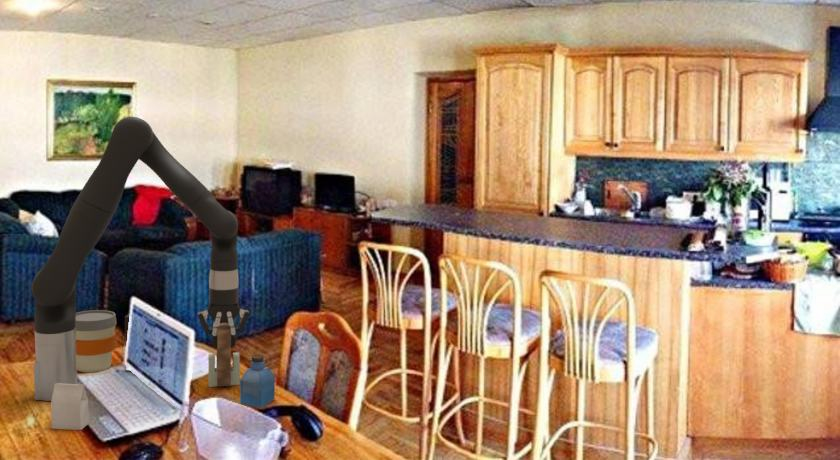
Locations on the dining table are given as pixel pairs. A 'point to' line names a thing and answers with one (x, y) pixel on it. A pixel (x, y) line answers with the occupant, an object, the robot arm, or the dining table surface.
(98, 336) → the reusable coffee cup
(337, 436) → the dining table surface
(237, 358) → the slotted stand
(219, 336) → the walnut plate
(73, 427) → the grey box
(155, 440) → the dining table surface
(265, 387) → the perfume bottle
